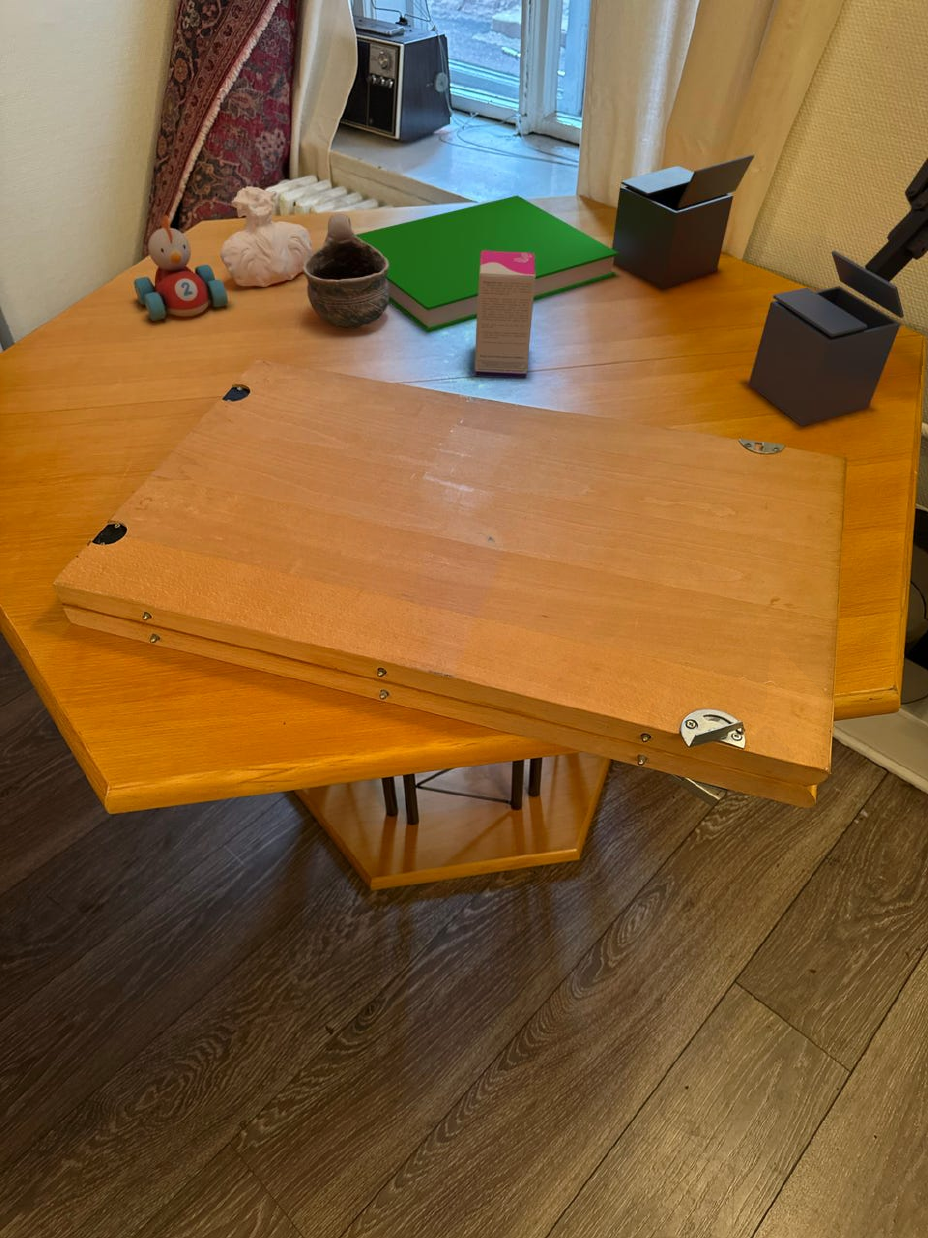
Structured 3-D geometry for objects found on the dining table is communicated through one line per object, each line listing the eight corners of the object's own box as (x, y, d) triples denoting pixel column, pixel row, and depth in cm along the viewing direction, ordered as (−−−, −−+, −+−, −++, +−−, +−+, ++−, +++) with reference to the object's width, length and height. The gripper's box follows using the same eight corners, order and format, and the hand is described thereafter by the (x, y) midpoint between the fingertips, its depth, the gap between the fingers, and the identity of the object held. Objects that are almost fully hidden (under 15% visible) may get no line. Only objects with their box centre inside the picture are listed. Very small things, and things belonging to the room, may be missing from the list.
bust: (312, 280, 117) (278, 192, 115) (331, 261, 110) (296, 168, 108) (227, 303, 112) (190, 212, 110) (242, 285, 105) (203, 188, 103)
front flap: (840, 281, 92) (842, 279, 91) (901, 318, 86) (904, 316, 86) (831, 252, 88) (833, 249, 88) (894, 288, 83) (897, 286, 83)
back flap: (734, 189, 108) (735, 190, 108) (677, 206, 104) (678, 208, 104) (753, 153, 104) (754, 155, 104) (694, 170, 100) (696, 172, 100)
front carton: (812, 367, 99) (841, 279, 91) (868, 407, 93) (903, 316, 86) (748, 384, 96) (772, 294, 89) (801, 426, 90) (832, 334, 83)
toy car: (155, 328, 103) (133, 242, 96) (136, 297, 108) (114, 213, 101) (232, 311, 106) (216, 226, 99) (209, 281, 111) (193, 199, 104)
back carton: (717, 270, 116) (735, 189, 108) (662, 289, 112) (677, 206, 104) (663, 244, 121) (677, 165, 114) (610, 261, 117) (620, 180, 110)
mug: (318, 345, 101) (308, 257, 94) (296, 296, 109) (285, 212, 102) (400, 332, 103) (397, 246, 96) (372, 286, 111) (367, 203, 104)
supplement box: (528, 378, 96) (535, 275, 88) (473, 376, 96) (476, 273, 88) (528, 351, 100) (535, 250, 92) (475, 350, 100) (477, 248, 92)
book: (615, 275, 114) (618, 252, 112) (427, 332, 103) (427, 307, 101) (514, 215, 127) (515, 193, 125) (338, 260, 116) (335, 237, 114)
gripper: (1014, 15, 81) (816, 228, 88) (1142, 50, 73) (912, 283, 80) (1028, 75, 87) (841, 271, 94) (1149, 114, 79) (933, 327, 85)
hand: (874, 276), depth 87 cm, fingers closed
